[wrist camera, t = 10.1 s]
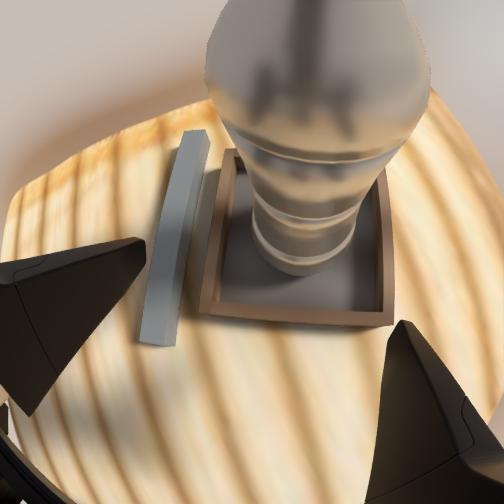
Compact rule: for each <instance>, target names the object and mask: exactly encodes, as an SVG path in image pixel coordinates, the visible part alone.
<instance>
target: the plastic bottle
mask: <svg viewBox="0 0 504 504" xmlns="http://www.w3.org/2000/svg"><path fill="white" fill-rule="evenodd" d="M430 75H431V68H430V64H429V61H428V57H427V54H426V51H425V48H424V45H423V42H422V39H421V37H420V34H419V31H418V29H417V27H416V25H415V23H414V21H413V19H412V17H411V16H410V14H409V12H408V10H407V8H406V6H405V5H404V3H403V1H402V0H229V1H228V2H227V4H226V5H225V7H224V9H223V10H222V12H221V14H220V16H219V18H218V20H217V23H216V24H215V27H214V29H213V31H212V34H211V36H210V38H209V41H208V43H207V53H206V65H205V79H204V80H205V83H206V86H207V89H208V92H209V94H210V97H211V99H212V101H213V104H214V106H215V109H216V111H217V113H218V115H219V116H220V118H221V120H222V122H223V124H224V126H225V128H226V130H227V132H228V134H229V135H230V137H231V139H232V141H233V143H234V145H235V147H236V149H237V151H238V152H239V154H240V156H241V158H242V160H243V162H244V165H245V168H246V171H247V174H248V177H249V180H250V183H251V186H252V189H253V201H254V207H253V213H252V226H251V227H252V237H253V241H254V244H255V246H256V248H257V250H258V252H259V253H260V255H261V256H262V257H263V258H264V259H265V260H266V261H267V262H268V263H269V264H270V265H272V266H273V267H274V268H276V269H277V270H279V271H282V272H284V273H286V274H290V275H295V276H307V275H313V274H316V273H319V272H322V271H324V270H326V269H328V268H329V267H331V266H333V265H334V264H336V263H337V262H338V261H339V260H340V259H341V258H342V257H343V256H344V254H345V253H346V252H347V250H348V248H349V246H350V244H351V242H352V238H353V234H354V230H355V225H356V217H357V214H358V211H359V208H360V205H361V202H362V201H363V199H364V197H365V196H366V194H367V192H368V191H369V189H370V188H371V186H372V184H373V183H374V181H375V179H376V178H377V176H378V175H379V174H380V172H381V171H382V170H383V169H384V167H385V166H386V165H387V164H388V163H389V161H390V160H391V159H392V158H393V156H394V155H395V154H396V153H397V151H398V150H399V149H400V148H401V146H402V145H403V144H404V142H405V141H406V139H407V138H408V137H409V136H410V135H411V133H412V132H413V130H414V129H415V127H416V125H417V124H418V122H419V120H420V118H421V117H422V115H423V113H424V112H425V110H426V109H427V107H428V102H429V95H430V77H431V76H430Z"/></svg>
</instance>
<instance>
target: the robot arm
mask: <svg viewBox="0 0 504 504" xmlns="http://www.w3.org/2000/svg"><path fill="white" fill-rule="evenodd" d="M145 264H146V244H145V241H144V240H143V239H140V238H137V237H131V238H126V239H120V240H115V241H110V242H105V243H99V244H94V245H89V246H84V247H79V248H74V249H70V250H65V251H60V252H55V253H51V254H46V255H41V256H36V257H32V258H26V259H21V260H15V261H9V262H3V263H0V504H20V502H21V501H22V500H24V501H25V502H26V503H27V504H77V503H75V502H74V501H73V500H71V499H70V498H69V497H68V496H67V495H65V494H64V493H63V492H62V491H61V490H59V489H58V488H57V487H56V486H55V485H54V484H53V483H52V482H50V481H49V480H48V479H47V478H46V477H45V476H44V475H43V474H42V473H41V472H40V471H39V470H38V469H37V468H36V467H35V466H34V465H33V464H32V463H31V462H30V461H29V460H28V459H27V458H26V457H25V456H24V455H23V454H22V453H21V451H20V450H19V449H18V448H17V447H16V446H15V445H14V443H13V442H12V441H11V440H10V439H9V437H8V436H7V435H8V406H7V405H6V404H5V403H4V402H5V401H6V400H7V399H8V398H9V397H11V398H12V399H13V400H14V401H15V402H16V404H17V405H18V406H19V407H20V408H21V409H22V410H23V411H24V412H25V413H26V415H27V416H28V417H30V416H31V415H32V414H33V413H34V411H35V410H36V408H37V407H38V405H39V404H40V402H41V401H42V399H43V398H44V397H45V395H46V394H47V392H48V391H49V389H50V388H51V387H52V385H53V384H54V382H55V381H56V380H57V378H58V376H59V375H60V374H61V373H62V371H63V370H64V369H65V367H66V366H67V365H68V363H69V362H70V361H71V359H72V358H73V357H74V355H75V354H76V353H77V352H78V350H79V349H80V348H81V346H82V345H83V344H84V343H85V341H86V340H87V339H88V338H89V336H90V335H91V334H92V333H93V331H94V330H95V329H96V328H97V326H98V325H99V324H100V323H101V322H102V320H103V319H104V318H105V317H106V316H107V314H108V313H109V312H110V311H111V310H112V308H113V307H114V306H115V305H116V304H117V302H118V301H119V300H120V299H121V298H122V296H123V295H124V294H125V293H126V291H127V290H128V288H129V287H130V286H131V284H132V283H133V281H134V280H135V278H136V277H137V276H138V274H139V273H140V272H141V270H142V269H143V267H144V266H145ZM364 504H504V449H503V447H502V446H501V444H500V443H499V441H498V440H497V438H496V437H495V436H494V434H493V433H492V432H491V430H490V429H489V428H488V426H487V425H486V423H485V422H484V420H483V419H482V418H481V416H480V415H479V414H478V412H477V411H476V409H475V408H474V406H473V405H472V403H471V402H470V400H469V399H468V397H467V396H465V393H464V391H463V390H462V388H461V387H460V385H459V384H458V383H457V381H456V380H455V378H454V377H453V376H452V374H451V373H450V371H449V370H448V369H447V367H446V366H445V364H444V363H443V362H442V360H441V359H440V358H439V356H438V355H437V354H436V352H435V351H434V350H433V348H432V347H431V346H430V345H429V343H428V342H427V341H426V339H425V338H424V337H423V336H422V334H421V333H420V332H419V330H418V329H417V328H416V327H415V325H414V324H413V323H412V322H410V321H406V320H400V321H399V322H398V324H397V325H396V327H395V329H394V330H393V332H392V334H391V335H390V337H389V339H388V342H387V347H386V355H385V362H384V369H383V375H382V382H381V394H380V407H379V418H378V427H377V436H376V443H375V450H374V457H373V463H372V469H371V474H370V479H369V484H368V489H367V494H366V498H365V503H364Z"/></svg>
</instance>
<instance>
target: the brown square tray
mask: <svg viewBox="0 0 504 504" xmlns="http://www.w3.org/2000/svg"><path fill="white" fill-rule="evenodd" d="M253 207H254V201H253V189H252V186H251V183H250V180H249V177H248V174H247V171H246V168H245V165H244V162H243V160H242V158H241V156H240V154H239V152H238V151H237V149H236V148H234V149H225V152H224V157H223V162H222V167H221V173H220V178H219V183H218V189H217V194H216V200H215V205H214V211H213V217H212V223H211V229H210V235H209V241H208V247H207V253H206V260H205V267H204V273H203V280H202V287H201V295H200V302H199V309H198V312H202V313H205V314H208V315H215V316H224V317H232V318H242V319H252V320H262V321H273V322H286V323H300V324H316V325H336V326H368V327H383V326H390V325H394V298H395V278H394V247H393V232H392V219H391V209H390V200H389V191H388V184H387V177H386V170H385V167H384V169H383V170H382V171H381V172H380V174H379V175H378V176H377V178H376V179H375V181H374V183H373V184H372V186H371V188H370V189H369V191H368V192H367V194H366V196H365V197H364V199H363V201H362V202H361V205H360V208H359V211H358V214H357V217H356V225H355V230H354V234H353V238H352V242H351V244H350V246H349V248H348V250H347V252H346V253H345V254H344V256H343V257H342V258H341V259H340V260H339V261H338V262H337V263H336V264H334V265H333V266H331V267H329V268H328V269H326V270H324V271H322V272H319V273H316V274H313V275H307V276H295V275H290V274H286V273H284V272H282V271H279V270H277V269H276V268H274V267H273V266H272V265H270V264H269V263H268V262H267V261H266V260H265V259H264V258H263V257H262V256H261V255H260V253H259V252H258V250H257V248H256V246H255V244H254V241H253V237H252V227H251V226H252V213H253Z"/></svg>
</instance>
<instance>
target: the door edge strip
mask: <svg viewBox="0 0 504 504" xmlns="http://www.w3.org/2000/svg"><path fill="white" fill-rule="evenodd" d="M209 147H210V141H209V138H208V136H207V133H206V131H205V130H191V131H184V133H183V136H182V140H181V143H180V146H179V149H178V153H177V156H176V160H175V163H174V167H173V170H172V174H171V177H170V181H169V185H168V189H167V193H166V197H165V201H164V205H163V209H162V213H161V217H160V222H159V226H158V231H157V235H156V240H155V245H154V250H153V255H152V260H151V266H150V271H149V277H148V283H147V289H146V295H145V301H144V308H143V315H142V323H141V331H140V340H139V341H142V342H146V343H151V344H156V345H161V346H175V342H176V334H177V325H178V317H179V310H180V302H181V295H182V288H183V282H184V275H185V269H186V262H187V256H188V250H189V245H190V239H191V233H192V228H193V222H194V217H195V212H196V207H197V202H198V197H199V192H200V187H201V182H202V178H203V173H204V169H205V164H206V160H207V155H208V151H209Z"/></svg>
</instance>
